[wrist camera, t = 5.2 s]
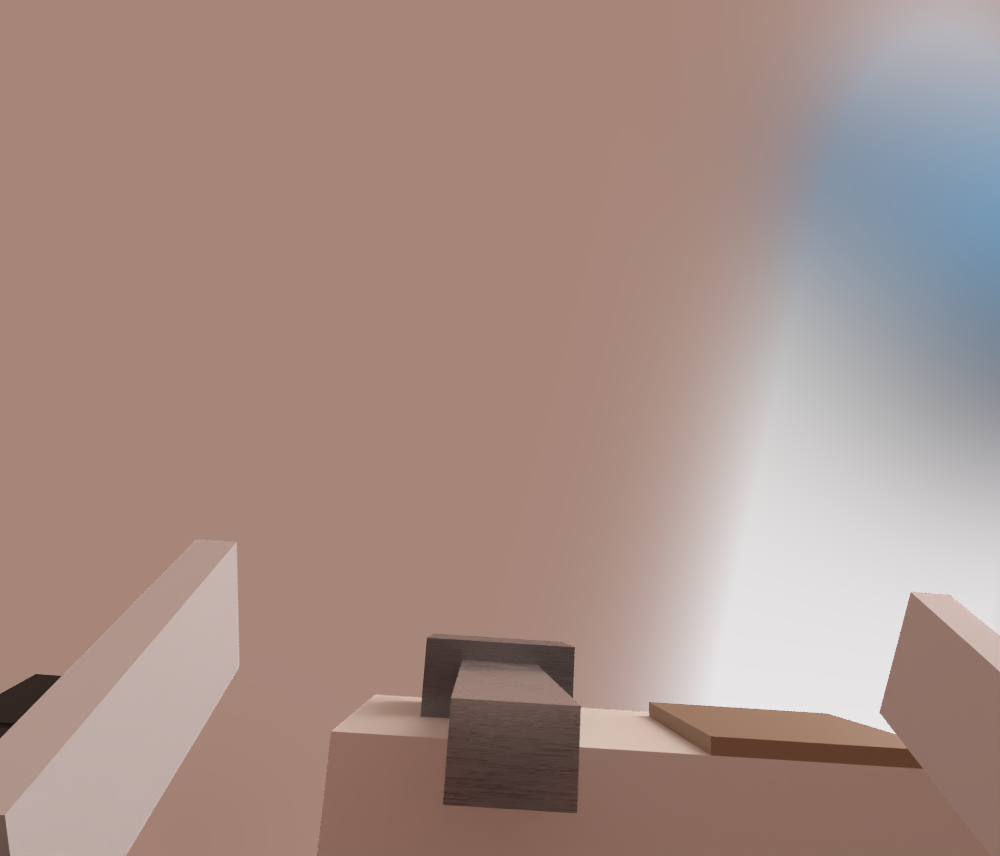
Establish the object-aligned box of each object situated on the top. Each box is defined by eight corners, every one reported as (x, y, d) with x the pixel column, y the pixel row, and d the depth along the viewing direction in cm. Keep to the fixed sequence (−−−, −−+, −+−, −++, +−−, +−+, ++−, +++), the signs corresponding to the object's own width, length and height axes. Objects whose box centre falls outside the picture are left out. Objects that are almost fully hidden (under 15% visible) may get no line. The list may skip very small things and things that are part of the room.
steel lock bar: (644, 817, 21) (646, 676, 22) (375, 800, 21) (389, 659, 22) (559, 710, 44) (561, 642, 45) (428, 702, 44) (433, 633, 44)
